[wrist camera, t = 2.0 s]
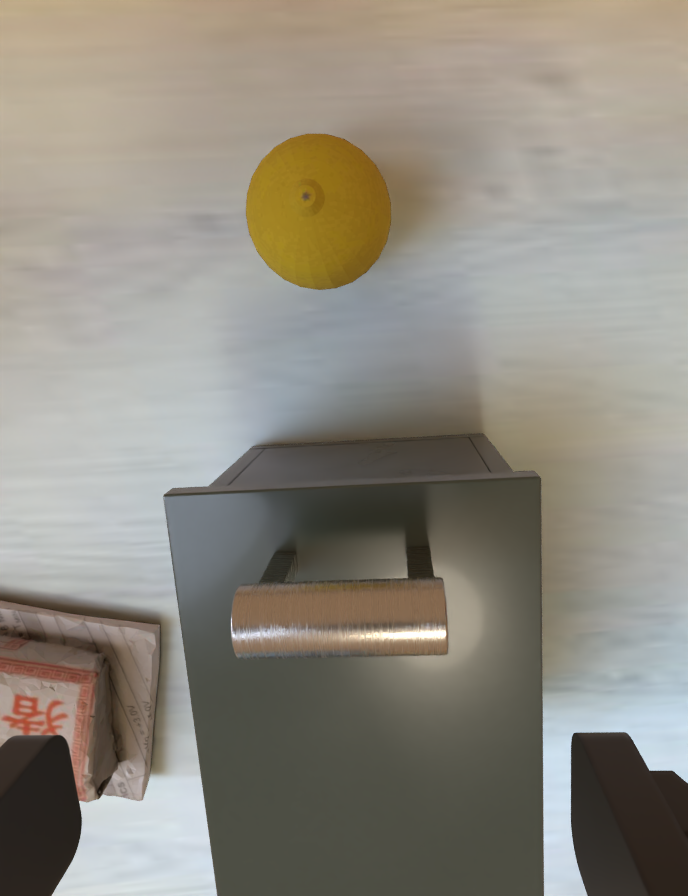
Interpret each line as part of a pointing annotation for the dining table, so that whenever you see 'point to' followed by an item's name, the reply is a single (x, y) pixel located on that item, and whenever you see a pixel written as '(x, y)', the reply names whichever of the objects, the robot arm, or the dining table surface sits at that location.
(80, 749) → the grey-brown angular block
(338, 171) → the lemon
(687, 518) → the dining table surface
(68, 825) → the robot arm
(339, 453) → the drawer box
